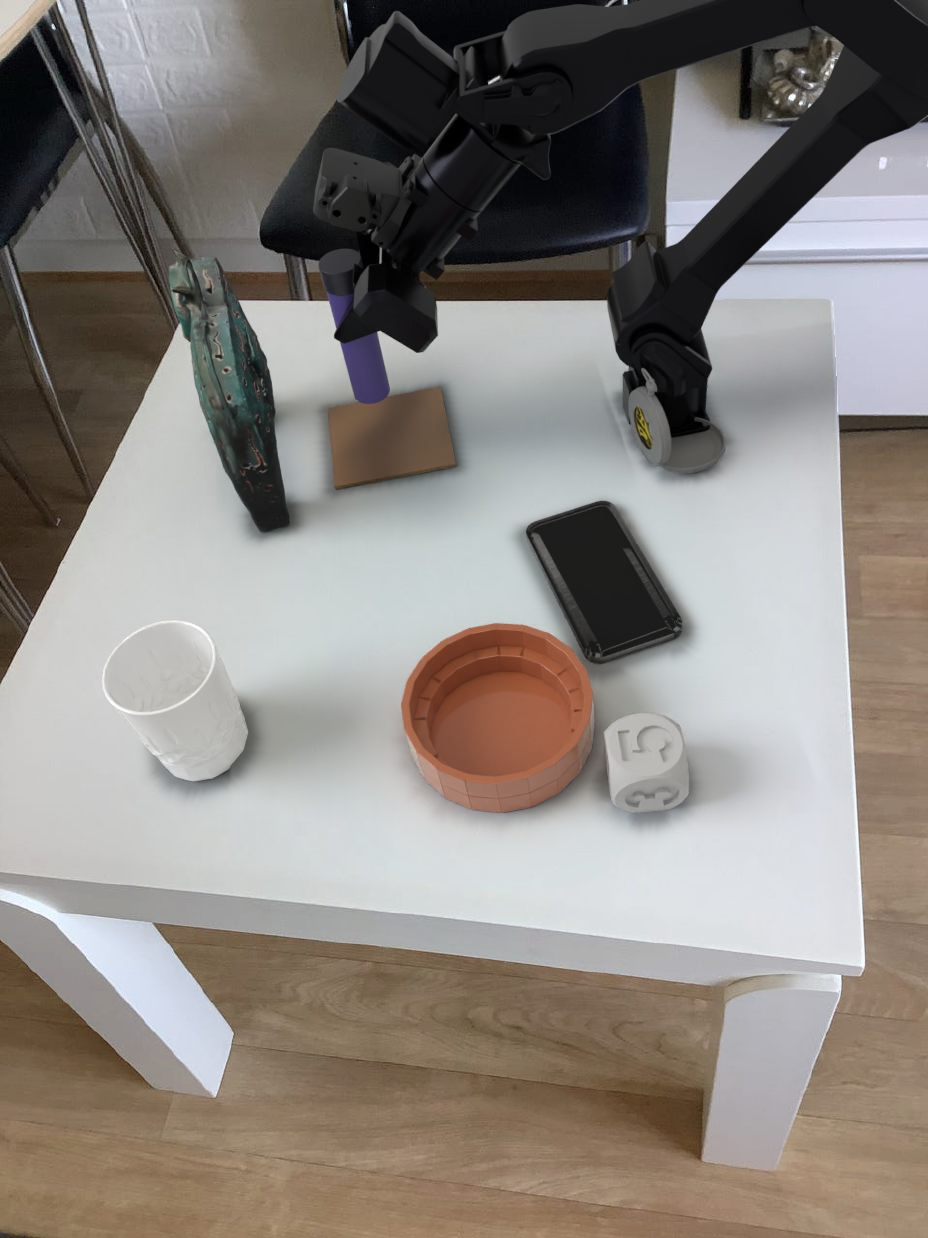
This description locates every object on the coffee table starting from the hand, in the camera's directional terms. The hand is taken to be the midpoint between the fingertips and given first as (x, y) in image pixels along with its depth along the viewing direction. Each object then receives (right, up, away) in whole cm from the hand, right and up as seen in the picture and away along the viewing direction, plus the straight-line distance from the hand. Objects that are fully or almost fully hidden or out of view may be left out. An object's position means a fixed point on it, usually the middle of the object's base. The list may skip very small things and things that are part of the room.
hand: (339, 326), depth 86 cm
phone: (+21, -21, -3) cm, 30 cm away
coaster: (+3, -7, +11) cm, 14 cm away
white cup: (-9, -33, -7) cm, 35 cm away
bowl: (+13, -32, -10) cm, 36 cm away
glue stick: (+2, -4, +5) cm, 7 cm away
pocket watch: (+29, -10, +6) cm, 31 cm away
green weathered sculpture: (-8, -10, +11) cm, 17 cm away
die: (+23, -35, -14) cm, 44 cm away
